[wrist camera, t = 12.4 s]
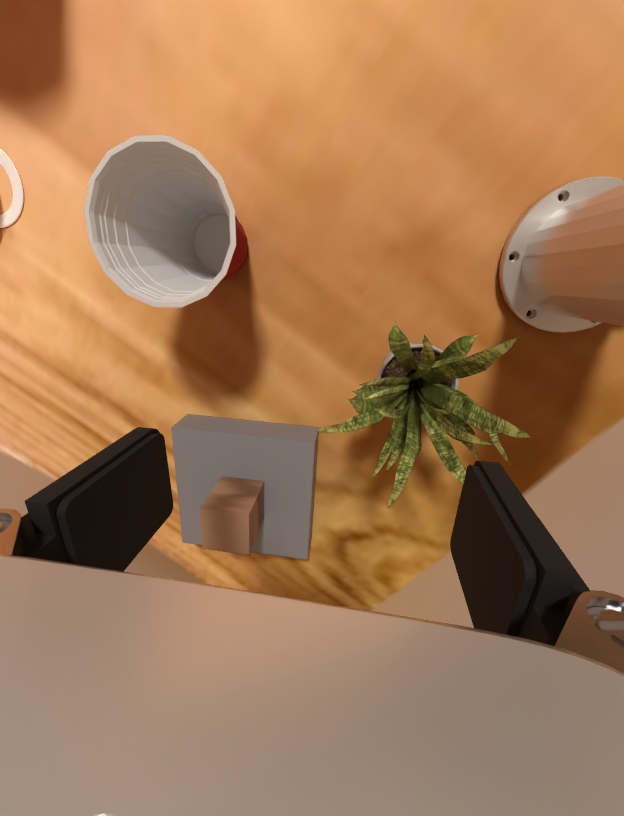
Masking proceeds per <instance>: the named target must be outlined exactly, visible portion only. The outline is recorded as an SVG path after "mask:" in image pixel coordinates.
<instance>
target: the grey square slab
mask: <svg viewBox="0 0 624 816" xmlns="http://www.w3.org/2000/svg"><path fill="white" fill-rule="evenodd" d="M171 429H172V439H173V449H174V459H175V469H176V479H177V489H178V499H179V509H180V519H181V529H182V539H183V543H191V544H198V545H202V538H201V524H200V510H199V508H200V507H201V505H202V504H203V502H204V501H205V499H206V498H207V497H208V495H209V494H210V492H211V491H212V489H213V488H214V487H215V485H216V484H217V482H218V481H219V479H220V478H221V477H222V476H226V477H235V478H243V479H251V480H260V481H265V482H264V519H263V522H262V524H261V527H260V529H259V532H258V534H257V537H256V539H255V542H254V544H253V547H252V549H251V552H255V553H262V554H269V555H277V556H284V557H291V558H298V559H305V560H307V559H308V554H309V548H310V543H311V537H312V523H313V508H314V493H315V478H316V464H317V449H318V434H319V432H315V431H318V430H319V427H310V426H300V425H290V424H280V423H270V422H260V421H250V420H240V419H230V418H220V417H210V416H201V415H191V414H188V415H186V416H185V417H184V418H183V419H181V420H180V421H179V422H178V423H176V424H175V425H174V426H172V427H171Z"/></svg>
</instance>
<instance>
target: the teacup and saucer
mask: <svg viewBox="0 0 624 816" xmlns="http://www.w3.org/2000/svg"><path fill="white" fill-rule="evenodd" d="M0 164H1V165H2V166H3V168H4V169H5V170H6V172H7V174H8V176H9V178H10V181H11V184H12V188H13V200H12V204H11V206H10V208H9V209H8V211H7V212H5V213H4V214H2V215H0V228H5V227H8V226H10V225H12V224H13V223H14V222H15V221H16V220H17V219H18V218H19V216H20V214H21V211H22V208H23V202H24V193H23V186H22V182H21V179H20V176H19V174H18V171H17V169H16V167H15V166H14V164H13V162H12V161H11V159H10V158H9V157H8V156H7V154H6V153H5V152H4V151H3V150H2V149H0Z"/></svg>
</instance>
